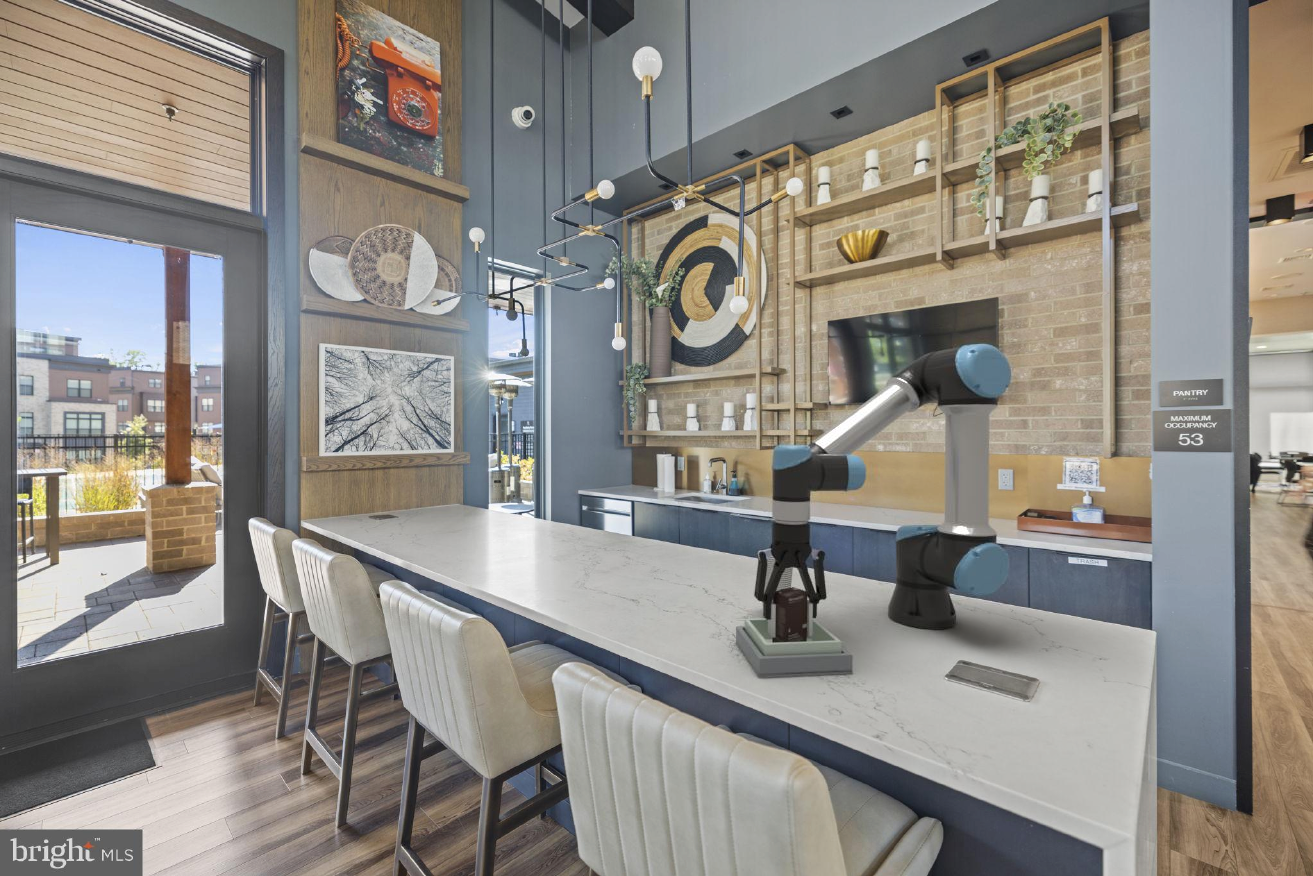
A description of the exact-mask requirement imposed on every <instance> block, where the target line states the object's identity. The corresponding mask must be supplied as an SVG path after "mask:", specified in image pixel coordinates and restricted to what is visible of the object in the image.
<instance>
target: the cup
mask: <svg viewBox="0 0 1313 876" xmlns="http://www.w3.org/2000/svg"><path fill="white" fill-rule="evenodd" d="M774 563H775V559H774V557H773V556H772V554H771V555H770V557H769V560H768V561H767V573H766V581H765V589H764V593H765V590H766V587H767V585H768V582H769V579H770V576H771V574H772V571H773V566H774ZM793 568H794V567H791V568H785V571H784V573H783V574H782V576H781V579H780V582H779V584H778V587H777V590H776V591H778V590H781V589H786V588H792V579H793V571H794V570H793ZM761 602H762V601H761ZM772 602H773V601H772ZM762 604H763V602H762Z"/></svg>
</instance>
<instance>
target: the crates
mask: <svg viewBox="0 0 1313 876" xmlns="http://www.w3.org/2000/svg"><path fill="white" fill-rule="evenodd" d="M735 643H736V645H737V647H738V648H739V650H740V651H741V652H742V654H743V655H744V657H745V659H746V660H747V661H748V663H749V665H750V666H751V668H752V670H754V672H755V673H756V674H755V675H757V677H758V678H759V679H765V678H766V679H767V678H789V677H812V676H814V677H815V676H816V677H817V676H832V675H833V676H836V675H853V654H852V653H851V652H850V651H849V650H848V649H846V648H845V647H844V646H843V643H842V641H841V640H840V639H839V638H838V637H837V636H836V635H834V634H833V633H832V632H830V631H829V630H828V628H826V627H825V626H824V625H822V624H821V622H819V621H818V620H817V619H816V618H813V633H812V636H808V635H807V642H781V643H772V637H771V636H770V635H769V634H768V620H766V619H765V618H764V617H763V618H744V625H736V626H735Z"/></svg>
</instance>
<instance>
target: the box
mask: <svg viewBox="0 0 1313 876" xmlns="http://www.w3.org/2000/svg"><path fill="white" fill-rule="evenodd" d="M807 600H808V592H806V591H805V589H804V590H803V589H800V588H797V587H794V586H791V588H786V589H781V590H778V591H776V593H775V595H774V598H773V603H774V604H775V605H776V624H775V637H772V643H781V642H807Z"/></svg>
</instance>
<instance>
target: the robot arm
mask: <svg viewBox="0 0 1313 876" xmlns="http://www.w3.org/2000/svg"><path fill="white" fill-rule="evenodd" d="M1011 380H1012V370H1011V366H1010V362H1009V360H1008V359H1007V357H1006V355H1005V354H1003V353H1002V351H1001V350H1000V349H998V347H995V346H993V345H992V344H987V343H979V344H978V343H977V344H975V343H974V344H965V345H962V346H956V347H953V348H946V349H942V350H936V351H931V352H928V353H926V354H923V355H922V356H920V357H919V358H917V359H916V360H914V361H912V362H911V363H910V364H908V365H906V366H905V367H904V368H903V369H901V370H900V371H899V372H897V373H896V374H894V375H893V376H892V377H890V378H889V379H888V380H887V381H886V384H885V387H883V389H881V390H880V391H879V392H877V393H875V395H873V396H871V397H870V399H868V400H867V401H865V402H864V403H863V404H862V405H860V406H859V407H857V408H856V409H854V411H852V412H851V413H849V414H848V415H847V416H845V417H844V418H843V419H841V420H840V421H839V422H837V423H836V424H835V425H834V426H832V427H831V428H829V429H828V430H827V431H825V432H824V433H822V434H821V435H820V436H819V437H817V438H816V439H815V440H813V441H812V442H809V444H808V445H807V444H806V445H805V444H804V445H803V444H800V445H799V444H796V445H795V444H779V445H776V446H775V447H774V449H773V451H772V453H773V454H772V465H771V470H772V476H771V477H772V503H771V504H772V505H771V506H772V508H771V509H772V510H771V513H772V514H771V516H772V517H771V518H772V519H773V520H774V521H773V522H772V523H771V544H770V546H769V548H767V549H764V550H761V549H757V550H756V557H757V569H756V575H755V576H756V579H755V586H754V593H753V595H754V597H755V599H757V601H758V602H763V603H762V613H763V618H765V619H766V620H768V634H769V635H770V636H771V637H775V624H776V605H775V604H774V603H773V602H772V601H773V598H774V595H775V593H776V590H777V587H778V584H779V582H780V579H781V576H782V574H783V573H784V571H785V568H791V567H793V568H795V569H797V571H798V574H799V576H800V580H801V581H802V584H803V588H804V591H806V592H808V598H807V635H808V636H812V633H813V618H814V619H817V616H818V605H819V603H820V601H822V600H823V601H825V600H826V599H827V588H826V587H827V586H826V580H825V579H826V577H825V569H824V561H825V556H826V552H825V551H824V550H822V549H820V548H812V546H811V542H810V541H811V524H810V523H809V521H810V520H811V495H812V494H811V492H848V491H858V490H859V489H861V488H862V487H863V485H864V484H865V482H866V479H867V474H866V473H867V468H866V464H865V461H864V460H863V459H862V458H861V457H860V456H859V455H856V454H853V453H854V452H855V451H857V450H858V449H860V448H861V447H863V445H865V444H866V443H868V442H869V441H870V440H871V439H873V438H874V437H875V436H877V435H878V434H879V433H881V432H882V431H884V429H886V428H887V427H889V426H890V425H891V424H893V423H894V422H895V421H897V420H898V419H899V418H901V417H902V416H903V415H904V414H906V413H912V412H915V411H916V410H918V409H919V408H921V407H923V406H925V405H928V404H930V403H935V402H937V408H938V409H939V410H940V411H941V412H942V413H943V414H944V416H945V421H944V422H945V423H944V424H945V426H944V427H945V429H944V430H945V432H944V435H945V436H944V447H945V451H944V456H945V457H944V521H943V522H942V524H911V525H901V526H899V527H898V528H897V530H896V538H895V587H894V590H893V592H892V595H891V598H890V601H889V604H888V609H887V611H888V612H887V613H888V614H887V615H888V618H890V619H891V620H892V621H894V622H896V623H899V624H902V625H905V626H909V627H914V628H920V629H926V630H927V629H930V630H945V629H950V628H954V627H955V626H956V625H957V613H956V610H955V609H956V608H955V606H954V603H953V600H952V598H951V594H950V591H949V588H951V589H953V590H954V589H955V590H957V591H959V592H961V593H964V594H969V595H974V596H979V597H982V596H987V595H992V594H993V593H994V592H996V591H997V590H999V589H1000V587H1001V586H1002V585H1003V584H1004V583H1005V582H1006V579H1007V577H1008V575H1009V572H1010V557H1009V555H1008V553H1007V552H1006V550H1005V548H1004V547H1002V546H1001V545H1000V544H998V543H997V536H998V535H997V531H996V530H995V529H994V528H993V527H992V526H991V525H990V524H989V523H990V522H989V518H990V517H989V511H990V509H989V508H990V505H989V504H990V503H989V501H990V499H989V498H990V493H989V492H990V415H991V413H992V412H994V411H995V410H996V409H997V408H998V407H999V406H998V405H999V404H998V403H999V400H998V399H999V398H998V397H1000V396H1002V395H1003V394H1004V393H1005V392H1006V391H1007V388H1009V387H1010V385H1011ZM771 554H772V556H773V557H774V559H775V563H774V566H773V571H772V574H771V576H770V579H769V582H768V585H767V587H766V590H765V593H764V589H765V581H766V573H767V561H768V560H769V557H770V555H771ZM810 556H811V559H812V564H813V565H812V566H813V574H814V583H815V586H814V584H813V582H812V578H811V576H810V574H809V568H808V565H807V563H806V562H807V560H808V558H809V557H810Z"/></svg>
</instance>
